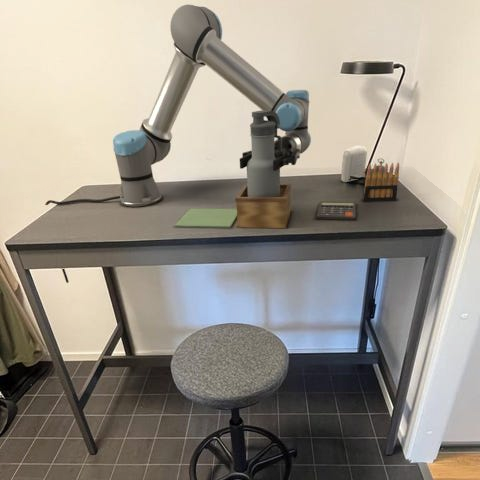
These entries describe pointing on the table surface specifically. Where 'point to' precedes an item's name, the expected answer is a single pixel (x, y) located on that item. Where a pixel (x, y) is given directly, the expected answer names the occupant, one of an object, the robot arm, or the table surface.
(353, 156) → the photo printer
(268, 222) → the wooden box
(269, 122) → the water bottle
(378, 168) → the pocket watch
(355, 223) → the table surface
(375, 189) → the ammunition clip
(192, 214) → the desk mat
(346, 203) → the calculator
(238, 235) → the table surface
